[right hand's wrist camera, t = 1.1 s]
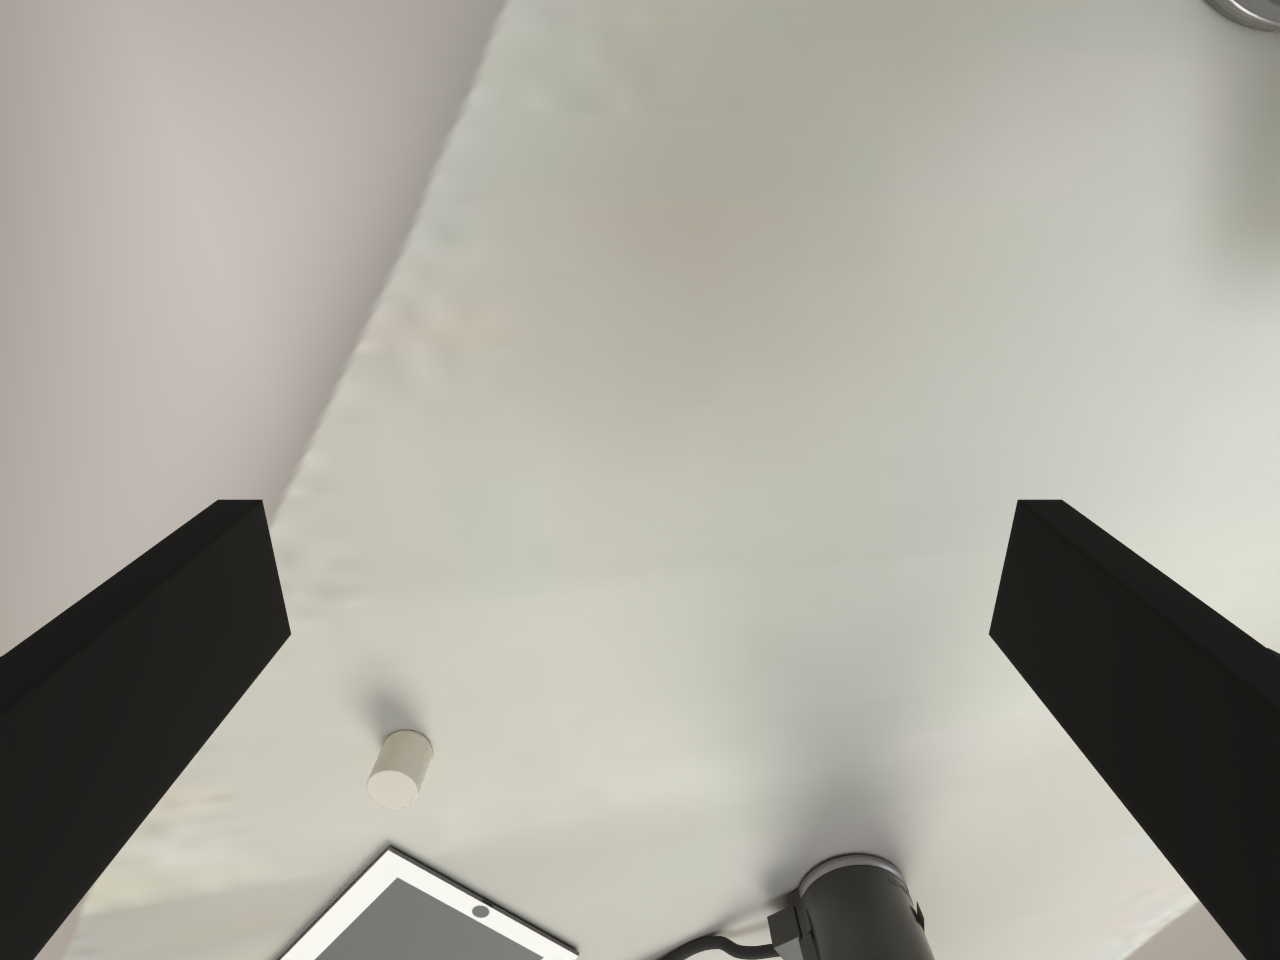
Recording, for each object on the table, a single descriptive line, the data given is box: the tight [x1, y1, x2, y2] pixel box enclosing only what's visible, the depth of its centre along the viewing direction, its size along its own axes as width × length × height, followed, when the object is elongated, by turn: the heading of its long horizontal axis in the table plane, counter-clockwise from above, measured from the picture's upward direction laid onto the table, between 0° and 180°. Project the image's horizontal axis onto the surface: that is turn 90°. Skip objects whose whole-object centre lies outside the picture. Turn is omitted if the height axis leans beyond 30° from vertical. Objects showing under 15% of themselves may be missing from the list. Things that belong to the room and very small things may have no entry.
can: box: [366, 730, 432, 809], centre depth 54 cm, size 4×4×4 cm
